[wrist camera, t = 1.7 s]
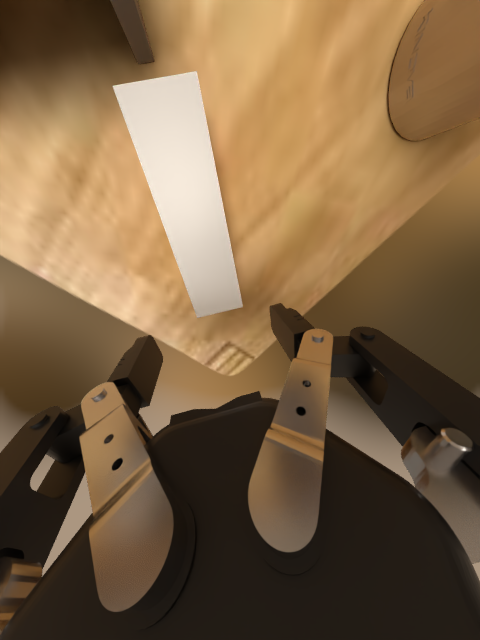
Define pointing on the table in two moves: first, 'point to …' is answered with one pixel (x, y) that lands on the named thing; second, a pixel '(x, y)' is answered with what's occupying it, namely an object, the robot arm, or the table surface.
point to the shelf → (134, 28)
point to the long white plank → (184, 184)
